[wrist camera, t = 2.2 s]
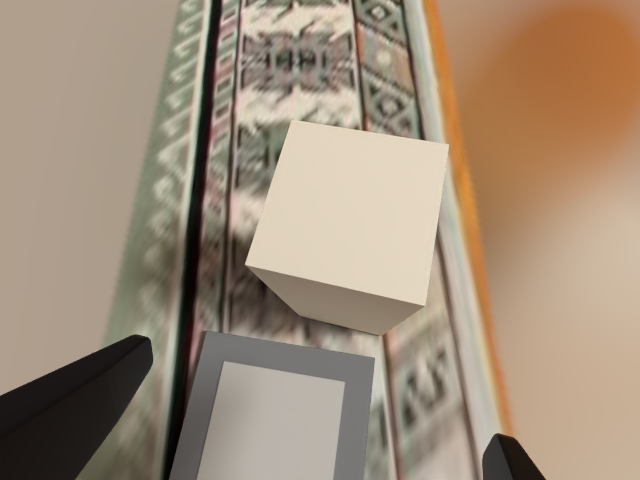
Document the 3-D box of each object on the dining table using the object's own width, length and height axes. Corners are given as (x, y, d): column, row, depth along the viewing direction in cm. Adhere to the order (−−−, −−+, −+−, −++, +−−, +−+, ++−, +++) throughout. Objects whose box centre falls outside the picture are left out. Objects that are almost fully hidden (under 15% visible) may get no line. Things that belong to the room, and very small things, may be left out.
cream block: (381, 335, 20) (425, 305, 9) (299, 316, 21) (244, 264, 10) (395, 256, 22) (448, 144, 10) (319, 240, 22) (292, 119, 11)
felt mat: (352, 573, 17) (353, 582, 16) (161, 527, 18) (154, 534, 17) (374, 357, 20) (375, 357, 19) (210, 331, 21) (206, 330, 20)
